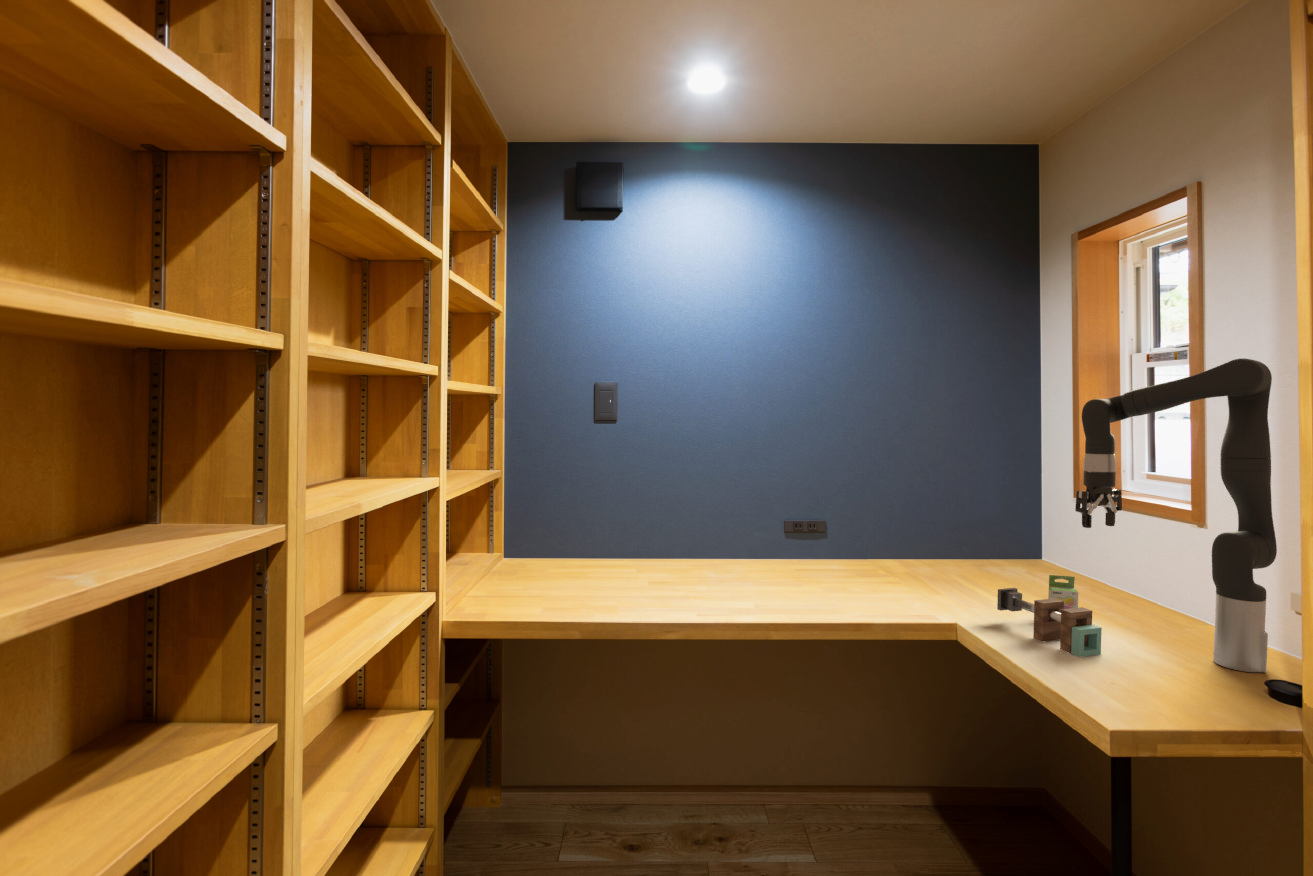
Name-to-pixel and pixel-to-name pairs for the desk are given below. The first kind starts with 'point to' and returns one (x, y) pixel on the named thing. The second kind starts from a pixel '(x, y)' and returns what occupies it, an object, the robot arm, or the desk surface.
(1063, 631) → the bearing blocks
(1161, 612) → the desk surface
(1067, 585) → the ink box
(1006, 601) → the shaft
